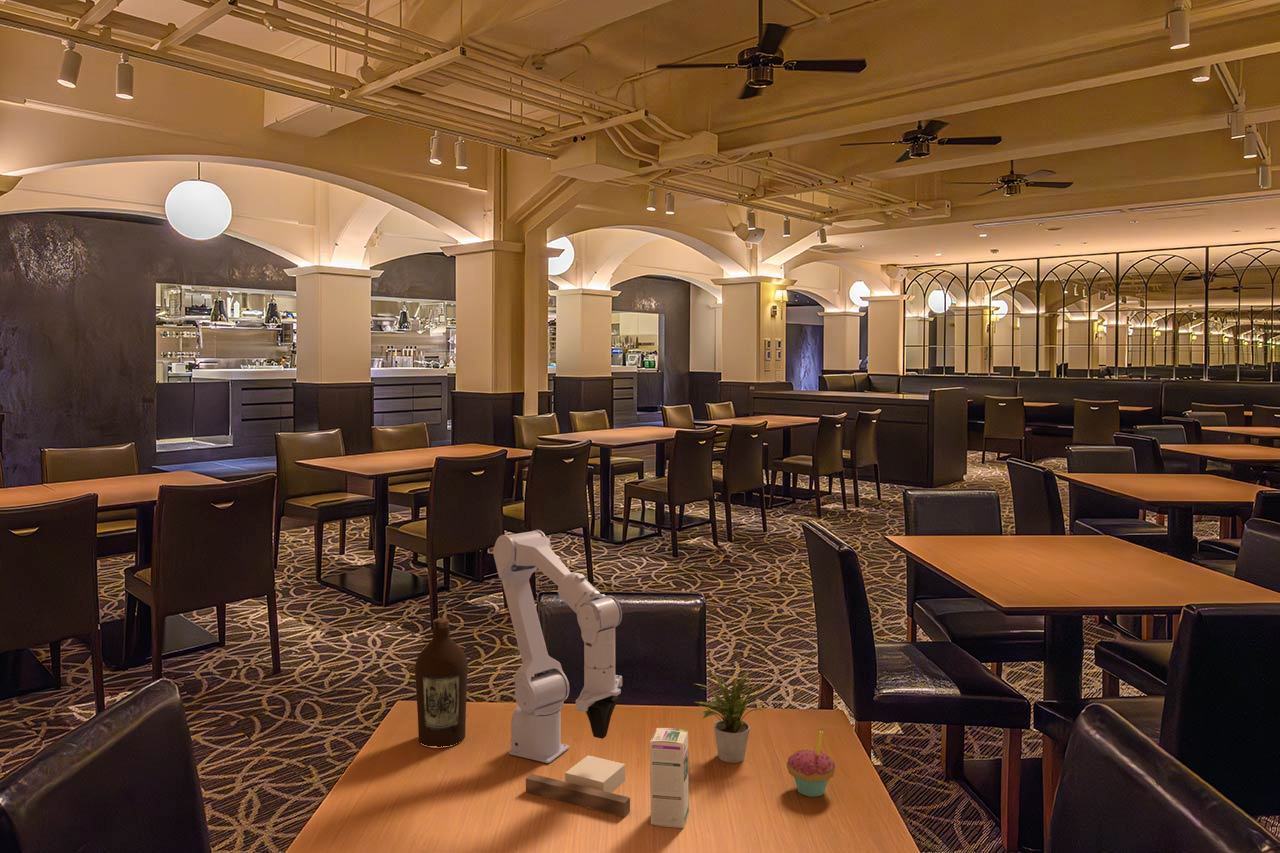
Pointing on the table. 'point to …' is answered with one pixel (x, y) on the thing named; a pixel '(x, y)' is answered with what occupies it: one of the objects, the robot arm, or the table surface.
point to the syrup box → (669, 777)
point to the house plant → (730, 720)
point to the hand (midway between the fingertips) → (599, 736)
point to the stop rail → (578, 795)
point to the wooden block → (597, 774)
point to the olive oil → (441, 689)
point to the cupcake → (811, 770)
